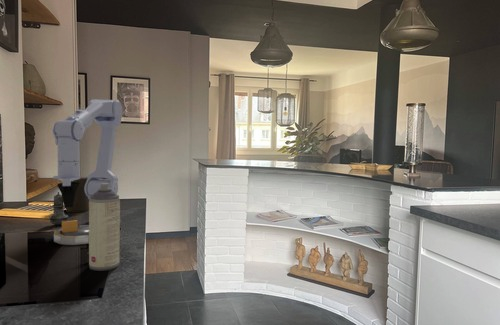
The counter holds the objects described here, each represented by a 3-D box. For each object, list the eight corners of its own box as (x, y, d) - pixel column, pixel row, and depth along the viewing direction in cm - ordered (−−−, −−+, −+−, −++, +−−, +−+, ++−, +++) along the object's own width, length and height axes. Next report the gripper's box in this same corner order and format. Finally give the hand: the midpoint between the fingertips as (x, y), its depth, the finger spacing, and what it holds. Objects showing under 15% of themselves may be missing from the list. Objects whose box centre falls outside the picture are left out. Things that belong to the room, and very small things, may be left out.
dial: (95, 231, 112) (95, 215, 112) (100, 239, 104) (100, 221, 104) (60, 235, 107) (60, 218, 106) (63, 243, 99) (63, 225, 99)
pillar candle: (83, 212, 142) (83, 175, 142) (59, 211, 143) (59, 174, 142) (94, 208, 152) (94, 173, 151) (71, 207, 152) (72, 172, 151)
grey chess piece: (60, 229, 117) (59, 193, 116) (44, 228, 118) (44, 192, 117) (72, 225, 122) (72, 191, 122) (57, 224, 124) (57, 190, 123)
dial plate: (89, 231, 116) (89, 221, 116) (118, 239, 108) (118, 229, 108) (42, 241, 104) (41, 230, 103) (70, 252, 95) (70, 240, 95)
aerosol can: (104, 258, 91) (105, 181, 90) (125, 263, 88) (126, 183, 87) (82, 267, 85) (82, 184, 83) (104, 272, 82) (104, 186, 81)
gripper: (56, 159, 110) (56, 203, 111) (49, 163, 96) (50, 212, 97) (81, 159, 112) (81, 202, 113) (78, 163, 99) (78, 211, 100)
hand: (69, 207), depth 105 cm, fingers closed
